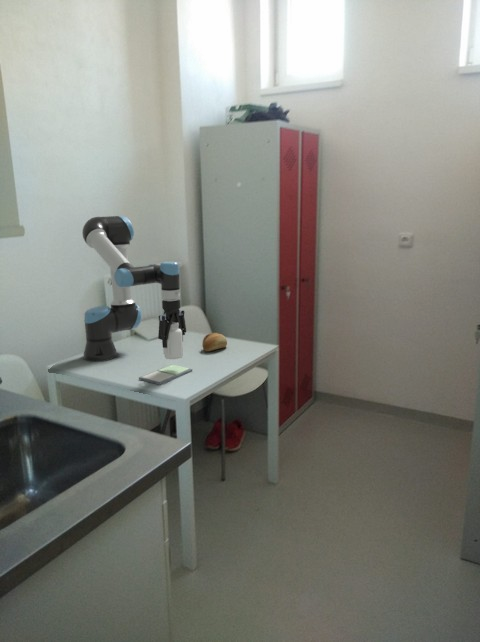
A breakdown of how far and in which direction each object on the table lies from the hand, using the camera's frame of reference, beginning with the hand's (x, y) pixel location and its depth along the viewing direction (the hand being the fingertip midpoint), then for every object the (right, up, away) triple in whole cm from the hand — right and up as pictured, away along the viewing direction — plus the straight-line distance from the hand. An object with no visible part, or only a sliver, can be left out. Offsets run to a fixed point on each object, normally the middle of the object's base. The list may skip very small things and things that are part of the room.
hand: (173, 352), depth 215 cm
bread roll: (+16, -1, +35) cm, 38 cm away
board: (-3, -10, -2) cm, 10 cm away
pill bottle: (0, -2, +1) cm, 2 cm away
